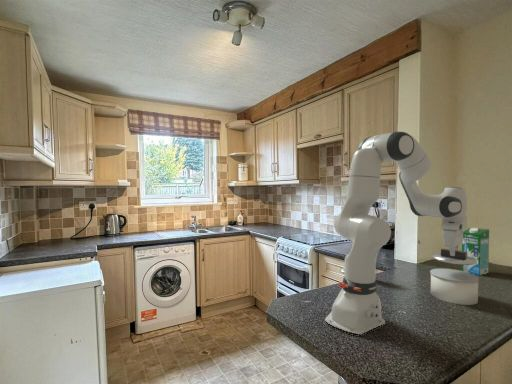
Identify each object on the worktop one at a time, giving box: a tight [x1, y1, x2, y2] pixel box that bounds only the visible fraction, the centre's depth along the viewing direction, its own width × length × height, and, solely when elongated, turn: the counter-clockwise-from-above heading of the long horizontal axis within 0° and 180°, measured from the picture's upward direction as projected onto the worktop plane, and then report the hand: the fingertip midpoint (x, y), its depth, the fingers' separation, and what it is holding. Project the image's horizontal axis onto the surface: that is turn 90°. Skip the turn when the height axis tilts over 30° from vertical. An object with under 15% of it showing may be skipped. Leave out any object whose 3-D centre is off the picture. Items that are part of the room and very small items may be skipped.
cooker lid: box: [431, 248, 477, 266], centre depth 121 cm, size 16×16×4 cm
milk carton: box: [461, 227, 490, 276], centre depth 155 cm, size 9×9×25 cm
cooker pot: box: [429, 267, 480, 306], centre depth 122 cm, size 18×18×10 cm
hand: (453, 254), depth 121 cm, fingers closed on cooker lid, 3 cm apart
